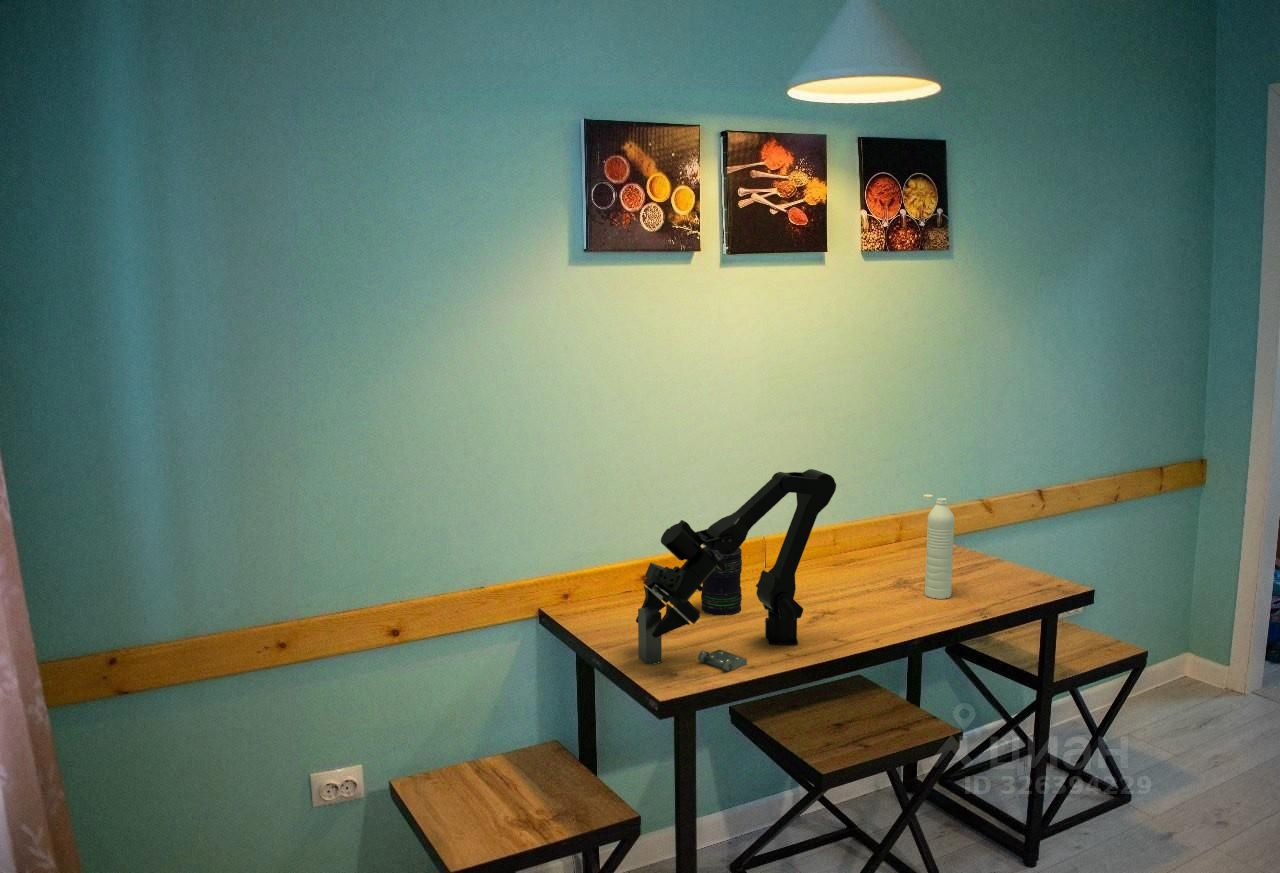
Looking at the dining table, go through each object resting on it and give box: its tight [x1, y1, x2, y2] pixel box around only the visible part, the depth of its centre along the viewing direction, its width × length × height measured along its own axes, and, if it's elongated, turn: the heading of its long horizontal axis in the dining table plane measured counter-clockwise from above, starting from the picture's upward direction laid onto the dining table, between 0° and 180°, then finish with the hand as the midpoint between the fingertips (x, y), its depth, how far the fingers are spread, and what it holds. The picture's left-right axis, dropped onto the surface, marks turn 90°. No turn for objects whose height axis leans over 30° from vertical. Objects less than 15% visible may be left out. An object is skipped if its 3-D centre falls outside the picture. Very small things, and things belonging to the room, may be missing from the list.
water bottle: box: [922, 494, 955, 600], centre depth 270 cm, size 9×6×25 cm
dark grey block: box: [637, 607, 663, 665], centre depth 228 cm, size 4×4×11 cm
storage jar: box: [700, 546, 743, 617], centre depth 260 cm, size 10×10×15 cm
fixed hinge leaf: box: [697, 649, 748, 672], centre depth 226 cm, size 7×8×2 cm
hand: (645, 629), depth 227 cm, fingers open, 9 cm apart
